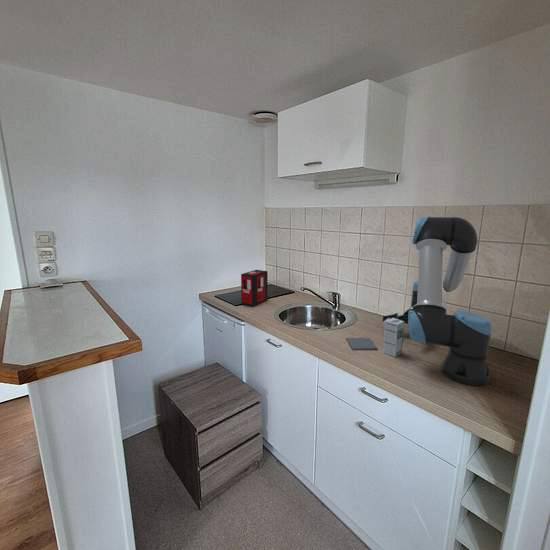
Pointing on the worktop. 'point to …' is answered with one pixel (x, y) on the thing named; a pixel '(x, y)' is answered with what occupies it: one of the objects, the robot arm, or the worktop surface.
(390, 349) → the syrup box
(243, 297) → the cleaning product box
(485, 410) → the worktop surface
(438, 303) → the robot arm
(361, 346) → the charcoal mat
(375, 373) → the worktop surface
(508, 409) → the worktop surface
